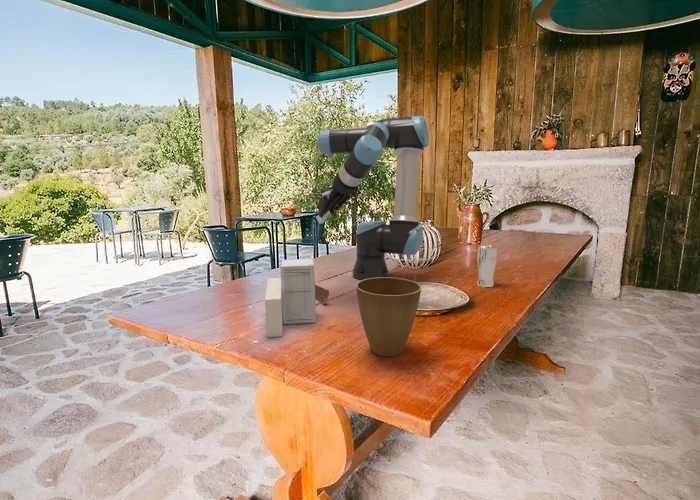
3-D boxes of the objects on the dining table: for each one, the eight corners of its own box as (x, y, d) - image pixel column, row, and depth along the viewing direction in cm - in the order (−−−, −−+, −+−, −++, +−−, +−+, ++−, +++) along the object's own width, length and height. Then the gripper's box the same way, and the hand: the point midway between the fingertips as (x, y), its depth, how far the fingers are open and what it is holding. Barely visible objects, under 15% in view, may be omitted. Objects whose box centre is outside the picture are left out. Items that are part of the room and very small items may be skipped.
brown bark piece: (300, 295, 136) (300, 281, 135) (305, 294, 137) (305, 280, 136) (324, 306, 123) (324, 291, 123) (329, 305, 125) (329, 290, 124)
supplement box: (315, 312, 117) (314, 258, 114) (316, 323, 108) (315, 264, 105) (283, 313, 116) (282, 259, 113) (281, 324, 107) (279, 265, 104)
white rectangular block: (282, 308, 121) (281, 277, 119) (282, 336, 99) (281, 299, 98) (269, 309, 120) (268, 278, 118) (266, 337, 99) (265, 299, 97)
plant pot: (343, 354, 89) (343, 287, 86) (375, 333, 101) (376, 274, 98) (401, 371, 81) (403, 298, 78) (429, 346, 93) (431, 282, 90)
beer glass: (496, 284, 148) (498, 246, 146) (492, 289, 142) (495, 249, 140) (477, 282, 152) (480, 244, 149) (473, 286, 146) (475, 247, 143)
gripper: (336, 189, 114) (308, 232, 131) (370, 186, 121) (338, 226, 139) (326, 170, 116) (299, 214, 134) (359, 167, 124) (330, 209, 141)
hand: (319, 220), depth 136 cm, fingers closed
